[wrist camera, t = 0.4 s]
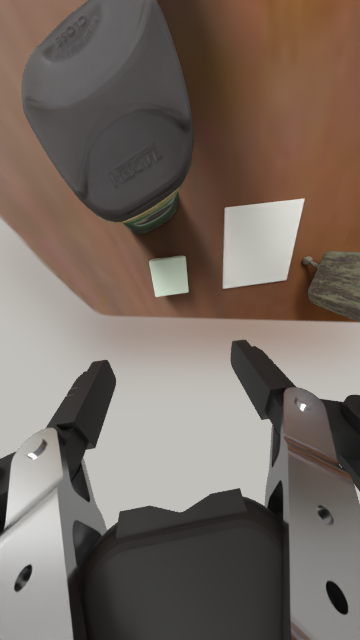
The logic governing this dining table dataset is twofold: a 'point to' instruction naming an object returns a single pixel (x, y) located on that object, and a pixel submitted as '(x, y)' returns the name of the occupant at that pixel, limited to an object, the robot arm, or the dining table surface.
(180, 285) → the cube with two prongs
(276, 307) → the dining table surface
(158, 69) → the coffee jar
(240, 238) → the mat
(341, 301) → the tabletop clock
